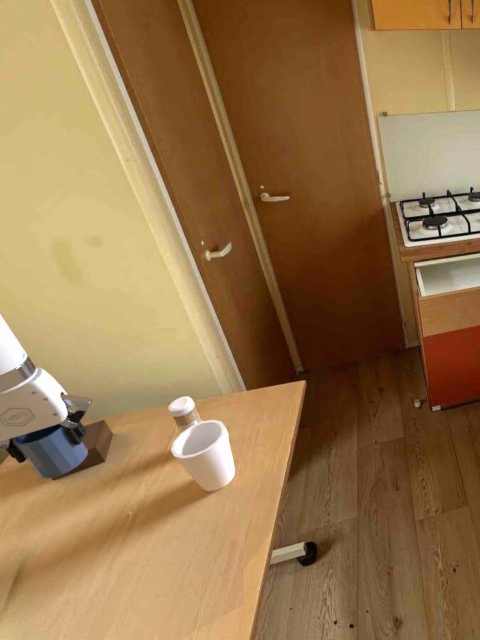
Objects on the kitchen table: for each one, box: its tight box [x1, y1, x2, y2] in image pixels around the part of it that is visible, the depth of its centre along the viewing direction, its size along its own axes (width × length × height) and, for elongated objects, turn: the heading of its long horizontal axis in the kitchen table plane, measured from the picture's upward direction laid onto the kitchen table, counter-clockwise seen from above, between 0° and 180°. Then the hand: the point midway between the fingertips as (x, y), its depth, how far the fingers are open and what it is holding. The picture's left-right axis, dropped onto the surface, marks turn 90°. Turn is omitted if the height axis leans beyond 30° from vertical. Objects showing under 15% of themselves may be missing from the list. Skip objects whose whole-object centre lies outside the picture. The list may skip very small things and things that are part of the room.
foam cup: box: [170, 419, 236, 493], centre depth 91 cm, size 10×9×13 cm
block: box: [50, 419, 114, 481], centre depth 97 cm, size 9×9×5 cm
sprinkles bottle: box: [167, 396, 204, 434], centre depth 99 cm, size 5×5×14 cm
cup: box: [13, 424, 88, 479], centre depth 78 cm, size 7×7×9 cm
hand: (53, 447), depth 78 cm, fingers closed on cup, 6 cm apart
